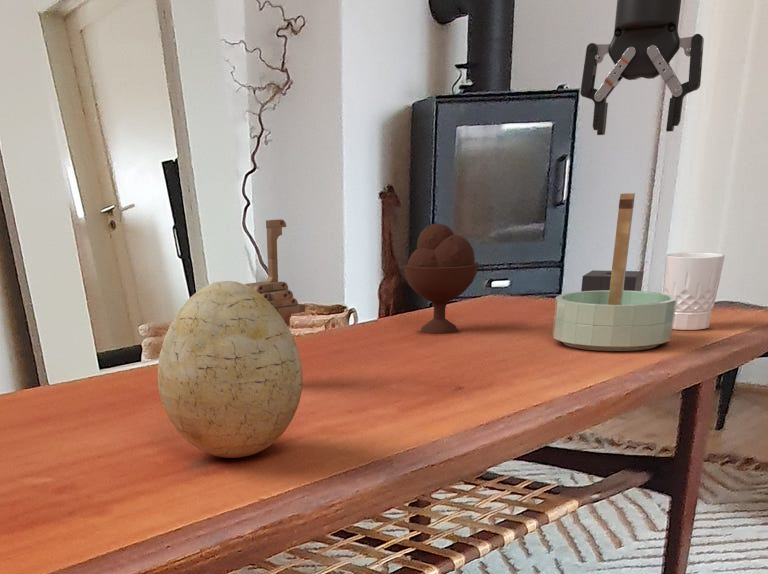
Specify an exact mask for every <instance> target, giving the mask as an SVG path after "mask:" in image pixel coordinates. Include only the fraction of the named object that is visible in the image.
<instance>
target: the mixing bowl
mask: <svg viewBox="0 0 768 574" xmlns="http://www.w3.org/2000/svg"><path fill="white" fill-rule="evenodd" d="M608 299H609V290H597V291H581V290H580V291H573V292H572V291H571V292H566V293H565V292H564V293H561V294H559V295H557V296H555V300H554V312H553V322H552V323H553V324H552V332H551V336H552V338H553V339H554V340H556V341H559V342H561V343H562V344H563V345H565V346H567V347H570V348H574V349H579V350H587V351H596V352H597V351H600V352H634V351H645V350H651V349H654V348H657V347H659V345H661V344H664V343H667V342H670V341H671V340H672V338H673V334H674V333H673V332H674V329H673V327H674V320H675V313H676V306H677V299H678V298H677V297H675V296H673V295H669V294H664V293H663V292H655V291H647V290H646V291H645V290H641V291H628V290H623V298H622V305H611V304H608Z"/></svg>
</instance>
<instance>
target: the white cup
mask: <svg viewBox="0 0 768 574" xmlns="http://www.w3.org/2000/svg"><path fill="white" fill-rule="evenodd" d="M725 256H726V255H725V254H723V253H719V252H698V251H697V252H695V251H694V252H675V253H674V252H673V253H667V254H666V255H665V261H664V262H665V263H664V272H663V273H664V274H663V285H662V293H664V294H669V295H673V296H675V297H677V298H678V299H677V306H676V313H675V320H674V327H673V330H677V331H699V330H705V329H708V328H710V324H711V319H712V314H713V309H714V307H715V304H716V303H715V302H716V299H717V294H718V290H719V286H720V282H721V281H720V280H721V277H722V276H721V275H722V272H723V271H722V270H723V266H724V261H725Z"/></svg>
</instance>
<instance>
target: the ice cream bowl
mask: <svg viewBox="0 0 768 574" xmlns="http://www.w3.org/2000/svg"><path fill="white" fill-rule="evenodd" d="M479 266H480V263H479V262H476V259H475V251H474V248H473V246H472V244H471V242H469V240H468V239H467V238H466V237H463V236H462V235H459V234H454V231H453V230H452V229H451V228H450V227H449V226H448V225H446V224H444V223H439V222H438V223H432V224H429V225H427V226H425V228H423V230H422V231H421V232H420V233H419V235H418V237H417V242H416V249H415V250H414V251H413V252H412V253H411V254H410V256H409V258H408V260H407V263H406V264H405V265H403V269H404V270H403V271H404V275H405V279H406V281H407V283H408V286H410V288H411V289H412V290H413V291H414V293H416V294H417V295H418V296H420V297H421V298H422V299H424V300H426V301H429V302H431V304H432V306H433V319H431V320H430V321H428V322H427V323H425V324H424V325H423V326H422V327H421V328H420V332H422V333H426V334H450V333H455V332H457V331H458V329H457V326H456V324H454V323H453V322H451V321H450V320H448V319H447V318H446V308H447V305H448V303H449V302H451V301H453V300H455V299H457V298H458V297H459V296H461V295H463V293H464V292H466V290H467V289H468V288H469V287H470V286H471V285H472V283H473V282H474V280H475V278H476V276H477V273H478V269H479Z"/></svg>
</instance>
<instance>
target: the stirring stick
mask: <svg viewBox="0 0 768 574" xmlns="http://www.w3.org/2000/svg"><path fill="white" fill-rule="evenodd" d="M635 197H636V193H635V192H629V193H628V192H626V193H625V192H623V193H620V194H619V201H618V210H617V211H618V212H617V220H616V229H615V237H614V246H613V255H612V265H611V271H612V272H611V281H610V290H609V299H608V304H611V305H622V298H623V290H624V281H625V273H626V271H627V263H628V255H629V248H630V247H629V246H630V240H631V239H630V238H631V231H632V230H631V229H632V221H633V213H634V207H635V206H634V205H635Z"/></svg>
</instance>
